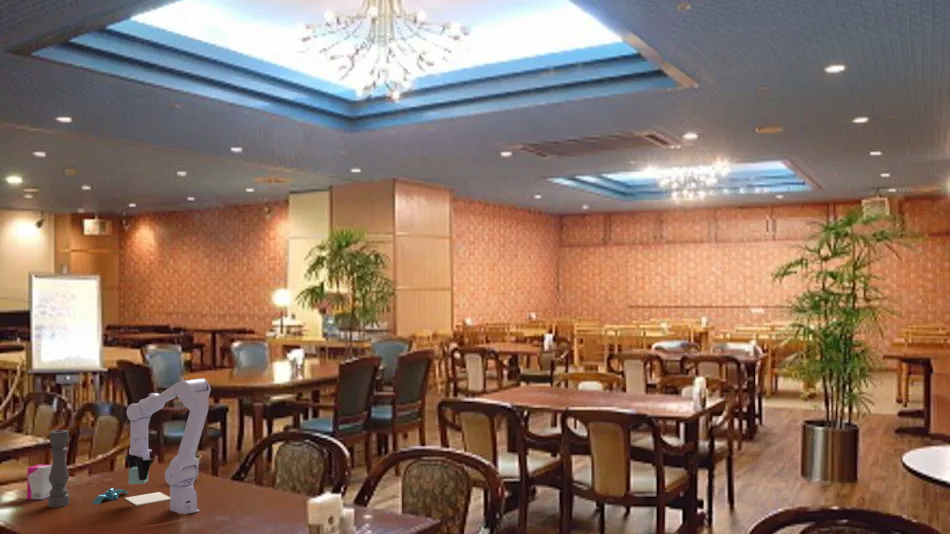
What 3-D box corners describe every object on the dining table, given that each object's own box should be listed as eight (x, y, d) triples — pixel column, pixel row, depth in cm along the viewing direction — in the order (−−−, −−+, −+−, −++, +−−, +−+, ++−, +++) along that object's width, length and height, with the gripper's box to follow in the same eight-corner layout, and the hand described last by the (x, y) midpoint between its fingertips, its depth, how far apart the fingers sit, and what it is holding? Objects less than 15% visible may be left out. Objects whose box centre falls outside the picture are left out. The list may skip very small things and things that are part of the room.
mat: (171, 499, 277) (171, 498, 277) (136, 505, 269) (136, 504, 269) (159, 493, 286) (159, 491, 286) (124, 498, 278) (124, 497, 278)
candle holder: (60, 508, 266) (60, 433, 267) (44, 507, 268) (44, 432, 268) (73, 503, 272) (73, 430, 273) (57, 502, 274) (57, 429, 274)
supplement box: (52, 496, 282) (53, 464, 282) (42, 501, 276) (42, 467, 276) (37, 496, 282) (37, 463, 283) (26, 500, 277) (26, 467, 277)
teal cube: (144, 483, 271) (144, 468, 271) (128, 484, 270) (128, 469, 270) (148, 480, 276) (148, 465, 276) (133, 481, 275) (133, 466, 275)
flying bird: (116, 494, 287) (116, 483, 287) (132, 495, 285) (132, 484, 285) (84, 504, 272) (84, 493, 272) (101, 506, 270) (101, 494, 271)
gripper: (158, 439, 271) (158, 479, 270) (143, 433, 282) (143, 472, 281) (137, 442, 266) (137, 483, 266) (123, 436, 277) (122, 475, 276)
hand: (139, 478), depth 273 cm, fingers closed on teal cube, 7 cm apart
